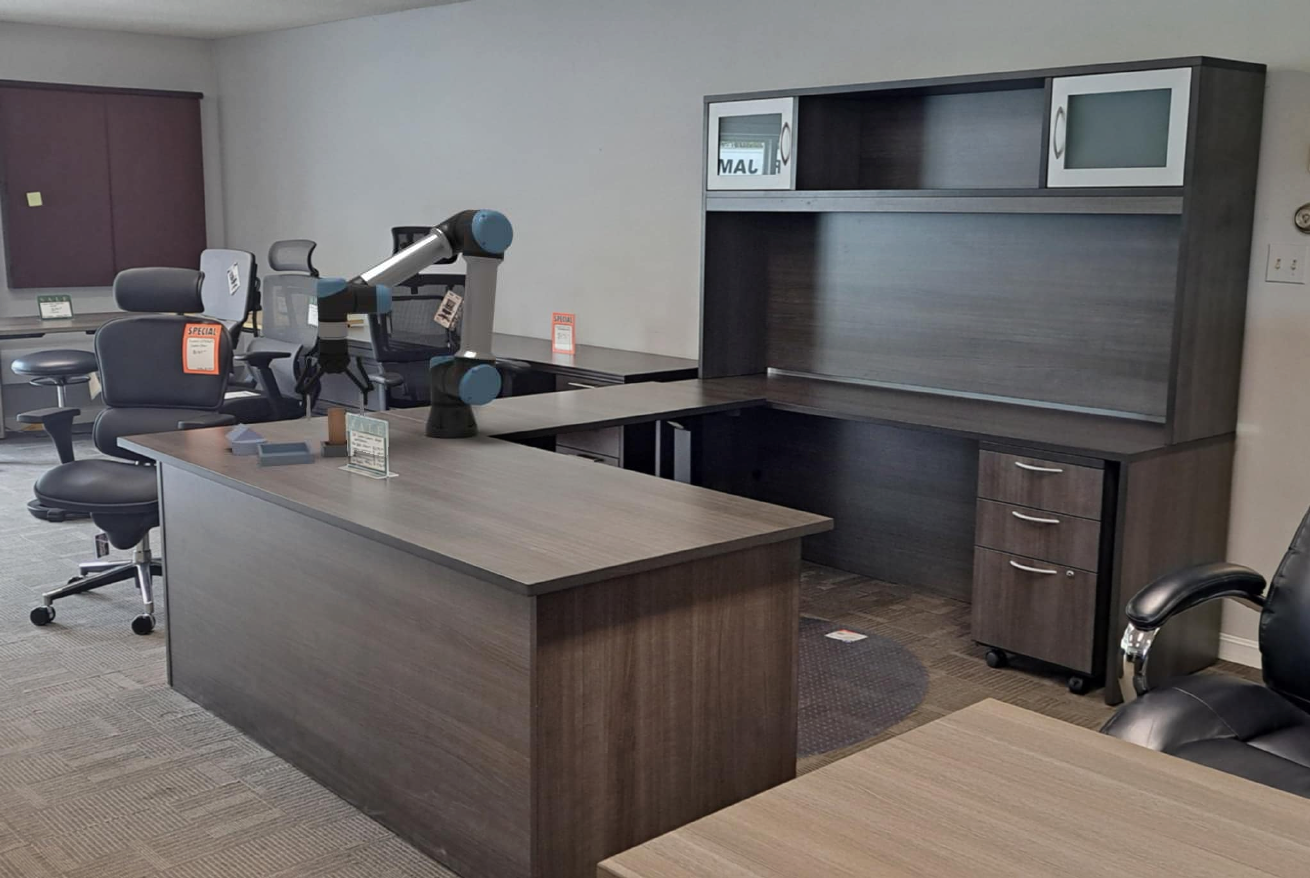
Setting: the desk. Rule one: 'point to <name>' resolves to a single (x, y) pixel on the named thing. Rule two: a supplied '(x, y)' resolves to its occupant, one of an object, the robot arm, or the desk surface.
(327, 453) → the grey square open box
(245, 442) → the wedge on round base
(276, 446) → the tray
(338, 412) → the dowel
